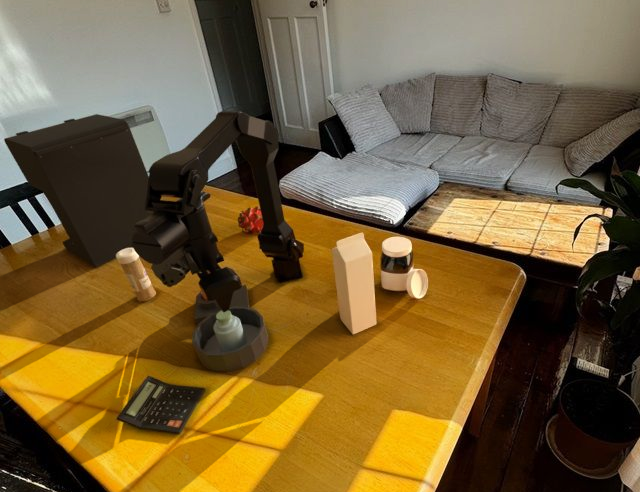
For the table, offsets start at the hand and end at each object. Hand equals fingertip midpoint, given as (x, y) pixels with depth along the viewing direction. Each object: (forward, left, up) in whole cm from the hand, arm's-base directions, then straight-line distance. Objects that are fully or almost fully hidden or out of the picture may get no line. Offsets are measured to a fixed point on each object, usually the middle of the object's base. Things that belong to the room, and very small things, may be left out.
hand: (218, 301), depth 81 cm
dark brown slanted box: (+32, -62, -13) cm, 71 cm away
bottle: (0, 0, -12) cm, 12 cm away
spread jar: (-41, -6, -13) cm, 43 cm away
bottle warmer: (0, 0, -12) cm, 12 cm away
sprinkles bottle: (+21, -26, -13) cm, 36 cm away
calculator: (+13, +12, -13) cm, 22 cm away
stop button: (+4, -15, -9) cm, 18 cm away
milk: (-27, +2, -13) cm, 30 cm away
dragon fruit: (-9, -50, -13) cm, 52 cm away
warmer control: (+2, -14, -12) cm, 19 cm away
